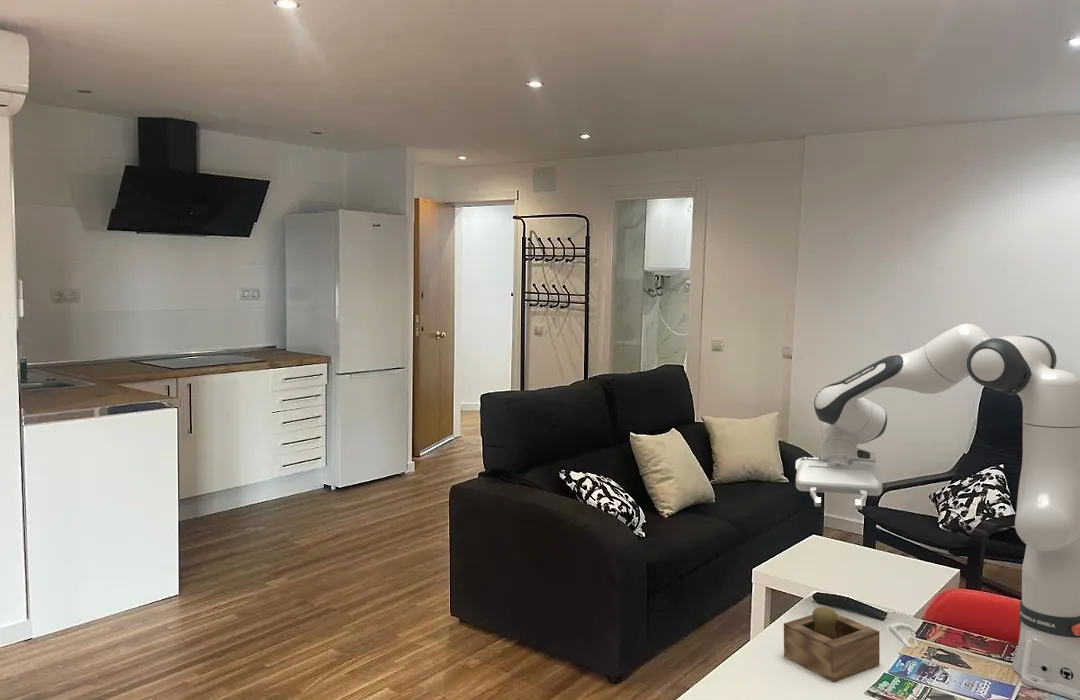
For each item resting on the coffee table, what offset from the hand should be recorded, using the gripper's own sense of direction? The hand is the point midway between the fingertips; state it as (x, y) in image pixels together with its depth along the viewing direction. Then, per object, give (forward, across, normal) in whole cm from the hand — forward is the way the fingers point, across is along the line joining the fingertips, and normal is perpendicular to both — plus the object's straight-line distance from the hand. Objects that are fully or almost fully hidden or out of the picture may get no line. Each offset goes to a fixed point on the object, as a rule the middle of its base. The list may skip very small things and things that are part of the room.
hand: (838, 506), depth 194 cm
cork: (+36, -2, +3) cm, 37 cm away
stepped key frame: (+24, +15, +17) cm, 33 cm away
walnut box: (+36, -1, +4) cm, 37 cm away
